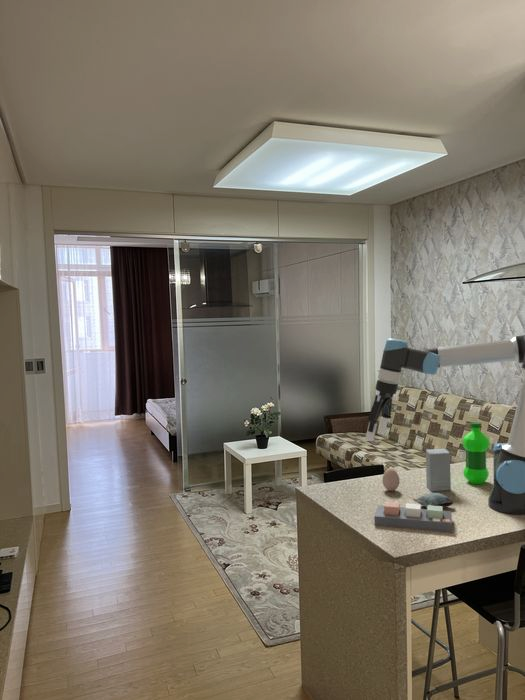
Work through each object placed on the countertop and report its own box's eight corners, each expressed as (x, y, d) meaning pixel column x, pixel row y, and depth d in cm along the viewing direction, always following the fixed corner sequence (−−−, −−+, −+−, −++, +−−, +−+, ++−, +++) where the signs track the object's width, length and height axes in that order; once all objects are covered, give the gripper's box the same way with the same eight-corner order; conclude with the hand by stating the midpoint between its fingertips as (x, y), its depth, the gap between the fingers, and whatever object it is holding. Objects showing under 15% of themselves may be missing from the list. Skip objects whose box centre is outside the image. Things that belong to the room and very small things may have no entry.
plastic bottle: (490, 480, 223) (490, 421, 222) (487, 487, 214) (487, 426, 213) (465, 477, 228) (465, 419, 227) (461, 484, 219) (460, 424, 218)
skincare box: (445, 486, 217) (445, 447, 216) (451, 491, 210) (451, 452, 209) (425, 486, 217) (424, 448, 216) (430, 492, 210) (429, 452, 209)
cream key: (420, 516, 181) (420, 504, 180) (420, 521, 176) (420, 509, 176) (406, 514, 182) (406, 503, 182) (405, 519, 178) (405, 508, 177)
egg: (398, 488, 216) (397, 466, 215) (400, 493, 209) (400, 470, 208) (381, 488, 216) (381, 466, 216) (383, 493, 210) (383, 470, 209)
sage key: (442, 517, 178) (442, 506, 178) (442, 523, 174) (442, 511, 174) (427, 516, 180) (427, 505, 180) (427, 521, 175) (427, 509, 175)
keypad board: (451, 520, 180) (451, 510, 180) (452, 532, 170) (452, 522, 170) (378, 513, 188) (377, 504, 188) (374, 524, 178) (374, 515, 178)
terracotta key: (399, 514, 183) (399, 502, 183) (398, 519, 178) (398, 507, 178) (385, 512, 184) (385, 501, 184) (384, 517, 180) (384, 506, 180)
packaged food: (413, 505, 195) (413, 492, 195) (438, 501, 200) (438, 488, 200) (428, 513, 187) (428, 500, 187) (455, 508, 192) (455, 495, 192)
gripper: (388, 376, 204) (376, 429, 207) (366, 381, 182) (353, 439, 185) (407, 381, 200) (394, 434, 203) (387, 386, 179) (374, 446, 181)
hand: (375, 437), depth 194 cm, fingers open, 13 cm apart
